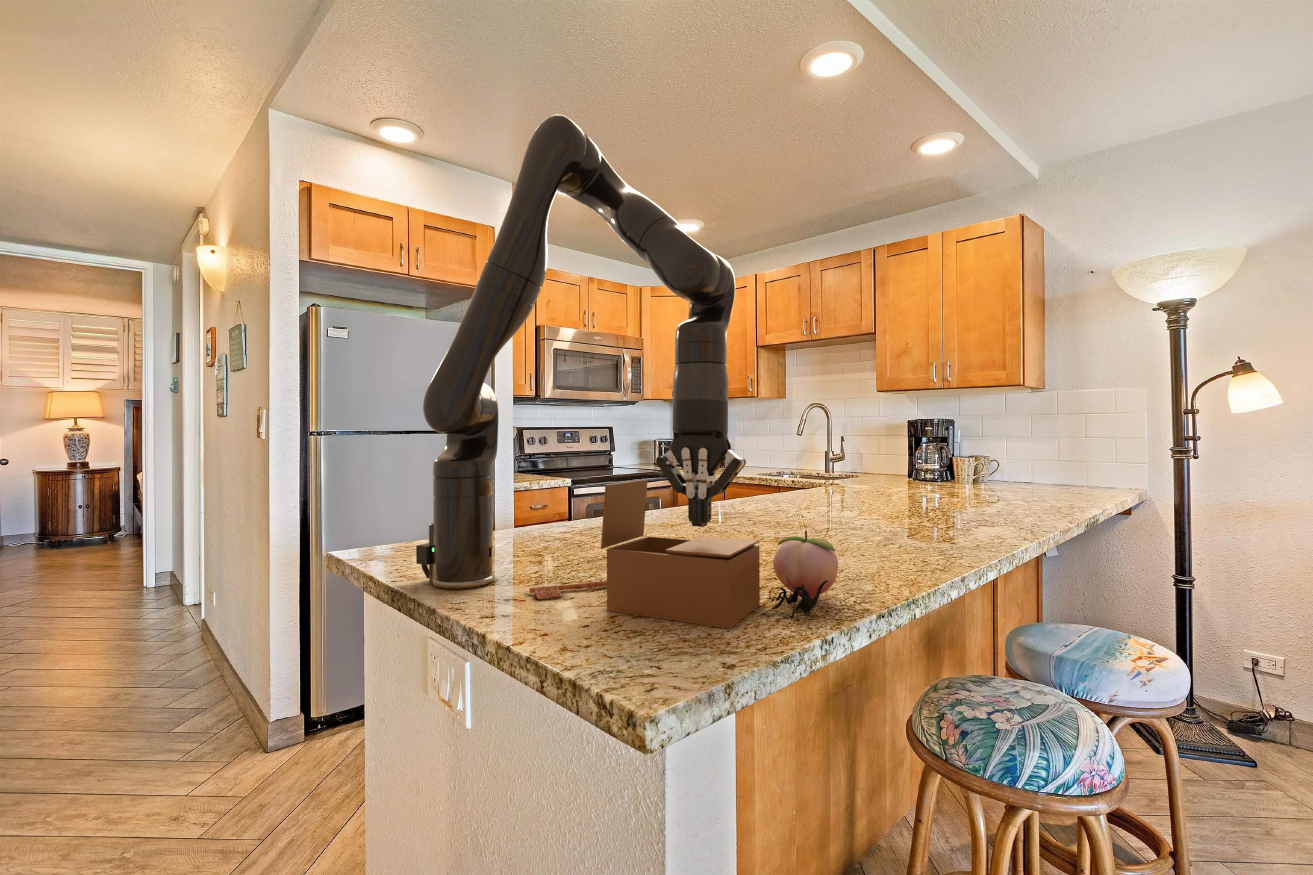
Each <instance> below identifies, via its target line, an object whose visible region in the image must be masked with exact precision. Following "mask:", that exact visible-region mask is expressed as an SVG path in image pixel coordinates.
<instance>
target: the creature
mask: <svg viewBox="0 0 1313 875" xmlns="http://www.w3.org/2000/svg"><path fill="white" fill-rule="evenodd" d="M786 578H787V577H786ZM787 580H788V578H787ZM789 582H790V581H789V580H788V584H789ZM826 582H828V581H824V582H823V583H822V584H821V585H820V586H819V587H818V590H817V594H816V596H815V597H813V598H810V596H809V593H808V591H807V590H806V589H805V586H804V585H803V584H801V586H802V587H801V586H798V587H793V586H792V585H791V586H792V588H793V589H795V591H794V593H793V592H791V591H790V590H789V591H788V590H786V588H785V587H782V586H781V587H780V590H781V591H780V592H779V594H778V596H777V597H776V596H774V597H773V598H772V599H771V602H770V604H772V603H773V602H774V603H777V604H776V605H774V606H773V607H772V608H770V609H768V610H766V611H765V612H764V615H769V614H771V613H769V612H770V611H773V610H776V609H779V608H781V606H782V605H783V603H784V602H786V604H788V605H792V604H796V603H797V602H798V600H799V596H798V593H799V594H800V596H801V597H802V598H801V597H800V598H801V599H800V601H799V602H798V604H797V606H796V607H795V608H794V609H793V611H792V613H791V615H790V614H787V613H786V614H785V612H781V614H782V615H783V616H788V617H789V618H790V619H794V616H795V614H796V611H799V610H800V611H802V612H803V614H804V616H806V615H807V614H808V615H811V610H812V609H813V608H815V607H816V605H817V603H818V600H819V598H820V596H821V594H820V593H821V589H822V587H823V585H824V584H825V583H826ZM790 584H791V583H790ZM789 588H790V587H789ZM800 591H802V593H803V594H802V593H801V592H800ZM787 593H788V594H789V596H787V595H788V594H787ZM774 600H775V601H774Z"/></svg>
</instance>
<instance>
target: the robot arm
mask: <svg viewBox="0 0 1313 875" xmlns="http://www.w3.org/2000/svg"><path fill="white" fill-rule="evenodd" d="M530 137H531V138H530V140H529V142H528V144H527V147H526V150H525V152H524V156H523V158H522V162H521V166H520V169H519V172H518V176H517V179H516V183H515V186H514V189H513V192H512V196H511V198H510V201H509V204H508V207H507V210H506V212H505V215H504V218H503V220H502V222H501V225H500V228H499V231H498V233H497V235H496V238H495V240H494V243H493V245H492V248H491V250H490V252H489V253H488V256H487V258H486V261H485V262H484V265H483V267H482V270H481V272H480V274H479V277H478V280H477V282H476V285H475V288H474V291H473V293H472V295H471V297H470V298H471V299H470V301H469V303H468V304H467V307H466V309H465V311H464V314H463V317H462V319H461V321H460V323H459V326H458V327H457V331H456V333H455V335H454V337H453V340H452V341H451V344H450V346H449V348H448V349H447V351H446V353H445V355H444V357H443V358H442V360H441V362H440V364H439V365H438V368H437V369H436V372H435V373H434V375H433V376H432V379H431V381H430V383H429V384H428V385H427V388H426V391H425V393H424V397H423V402H422V413H423V416H424V419H425V420H424V421H425V422H426V423H427V425H428V426H429V427H430V428H431V429H432V430H433V431H435V432H437V433H440V434H444V435H446V438H445V439H446V440H445V445H444V449H443V451H442V452H441V454H439V455H438V456H437V457H436V458H435V459H434V460H433V464H432V482H433V483H432V495H433V496H432V497H433V498H432V500H433V502H432V504H433V510H432V511H433V514H432V515H433V520H432V521H433V522H432V523H429V526H428V542H427V543H421V544H417V545H415V559H416V560H415V564H416V565H420V566H421V570H422V572H423V574H424V575H425V577H426V579H428V581H429V584H432V585H433V586H434V587H437V588H440V589H449V590H458V589H459V590H460V589H472V588H478V587H483V586H485V585H489V584H491V583H492V582H494V580H495V579H494V578H495V577H494V576H495V574H494V556H495V554H496V545H495V544H494V495H493V492H494V491H493V489H494V487H493V486H494V484H493V479H494V478H493V470H494V469H493V468H494V464H495V462H496V458H497V456H498V446H499V445H498V441H499V416H500V415H499V404H498V398H497V396H496V394H495V391H494V390H493V389H492V387H491V386H490V385H489V384H488V383H487V382H485V380H486V378H487V375H488V373H489V370H490V368H491V366H492V364H493V362H494V360H495V359H496V357H497V355H498V354H499V353H500V351H501V350H502V349H503V348H504V347H505V346H506V344H507V343H508V342H509V341H510V340H511V339H512V338H513V337H514V336H515V334H516V333H517V332H518V331H519V330H520V329H521V328H522V326H523V325H524V324H525V322H526V321H527V320H528V318H529V317H530V315H531V313H532V311H533V309H534V307H535V305H536V302H537V300H538V297H539V296H540V293H541V291H542V288H543V285H544V283H545V280H546V276H547V268H548V223H549V222H548V221H549V216H550V211H551V208H552V206H553V205H552V204H553V202H554V200H555V198H556V194H557V192H559V193H561V194H563V195H566V196H567V197H569V198H571V199H573V200H574V201H577V202H579V203H580V204H582V205H583V206H585V207H587V208H589V209H590V210H592V211H593V212H595V213H596V214H597V215H598V216H600V217H601V218H602V219H603V220H604V221H605V222H606V223H607V224H608V225H609V227H610V229H612V231H613V232H614V233H615V234H616V235H617V236H618V238H620V240H621V241H622V242H623V243H624V244H625V245H626V246H627V247H628V248H630V250H632V251H633V252H634V253H635V254H636V256H638V257H639V258H640V259H641V260H643V262H645V263H646V264H648V265H649V267H650V268H651V270H652V271H653V272H654V274H655V275H656V276H657V277H658V279H659V280H660V281H661V282H662V284H663V285H664V286H665V287H666V289H669V290H670V291H671V292H672V293H673V294H675V295H676V296H677V297H679V298H681V299H682V300H685V301H688V302H689V311H688V316H687V320H685V321H683V322H681V323H679V324H678V326H677V327H676V330H675V336H674V372H673V379H672V391H671V397H672V434H673V435H672V436H673V437H672V440H671V442H670V444H669V450H667V451H666V452H665V453H664V454H663V455H660V456H657V457H656V459H655V463H656V465H657V466H658V467H659V469H660V471H661V472H662V473H663V475H664V477H665V479H667V481H668V483H669V484H670V486H671V488H673V490H674V492H675V493H676V494H682V495H684V496H685V497H686V498H687V518H688V522H691V526H692V527H696V528H697V527H698V528H704V527H707V526H708V524H709V523H710V522H711V520H712V502H713V498H714V497H716V496H719V495H722V494H724V493H725V492H726V491H727V490H728V488H729V487H730V485H731V484H732V483H733V481H734V480H735V479H736V478H737V476H738V475H739V474H740V473H741V472H742V470H743V468H744V467H745V466H746V465H747V460H746V459H745V457H740V456H738V454H736V453H734V451H732V444H731V443H730V441H729V438H728V432H729V377H728V368H727V362H728V361H727V352H728V351H727V350H728V349H727V348H728V346H727V344H728V343H727V333H728V329H729V325H730V322H731V317H732V312H733V307H734V304H735V303H734V302H735V296H736V280H735V279H736V278H735V275H734V270H733V268H732V265H731V264H730V263H729V262H728V261H727V260H726V259H724V258H723V257H722V256H720V255H717V254H715V253H713V252H712V251H710V250H708V249H707V248H705V247H704V246H702V244H700V243H698V242H697V241H695V240H694V239H693V238H691V237H690V236H689V235H688V234H687V233H686V231H685V229H684V227H682V226H681V224H680V223H679V221H677V220H676V219H674V218H673V217H672V216H671V215H670V214H669V213H668V212H667V211H666V210H664V209H663V208H662V207H660V206H659V205H658V204H656V203H655V202H654V201H653V200H651V199H650V198H648V197H647V196H646V195H644V194H643V193H641V192H639V191H637V190H635V189H634V188H632V187H631V186H630V185H629V184H627V183H626V182H625V181H624V180H623V179H622V178H621V177H620V176H619V175H618V174H617V172H616V171H615V170H614V168H613V167H612V166H611V164H610V163H609V162H608V161H607V159H606V158H605V157H604V155H603V154H602V153H601V151H600V149H599V147H598V146H597V144H595V142H594V141H593V140H592V139H591V138H590V137H589V136H588V135H587V134H586V133H585V132H584V131H583V130H582V129H581V128H580V126H578V125H577V124H576V123H575V122H574V121H573V120H572V119H570V118H569V117H567V116H565V115H563V114H553V115H550V116H548V117H547V118H545V119H544V120H542V122H541V123H539V125H538V126H537V128H536V129H535V130H534V132H533V134H532V135H531V136H530ZM678 464H679V466H680V468H681V469H682V470H683V471H682V472H681V471H680V469H679V468H678V467H677V465H678ZM722 464H724V470H723V471H722V472H721V474H720V475H719V476H718V478H717V479H716V476H717V471H718V469H719V468H720V467H721V465H722ZM682 473H683V474H682Z"/></svg>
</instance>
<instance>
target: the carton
mask: <svg viewBox="0 0 1313 875" xmlns="http://www.w3.org/2000/svg"><path fill="white" fill-rule="evenodd" d="M648 480H649V479H647V478H646V479H645V478H643V479H638V480H630V481H623V482H616V483H609V484H605V485H604V499H603V512H602V526H601V539H600V540H601V541H600V549H605V548H606V580H607V586H606V611H608V612H614V613H622V614H628V615H635V616H642V617H648V618H655V619H661V620H668V621H674V622H681V623H688V624H694V625H695V624H696V625H702V626H709V627H714V628H715V627H716V628H721V629H728V630H730V629H732V628H733V627H734V626H735V625H737V624H738V623H740V622H741V621H742V620H743V619H745V617H747V616H748V615H749V614H751V613H752V612H753V611H754V610H755V609H757V608H758V607H759V606H760V604H761V603H760V601H761V600H760V599H761V597H760V594H761V591H760V588H761V587H760V585H761V584H760V582H761V581H760V577H761V576H760V573H761V572H760V545H759V544H755V545H753V546H751V547H749V548H747V549H745V550H743V551H741V552H739V553H737V554H735V555H733V556H731V557H719V556H707V555H696V554H684V553H673V552H666V549H669V548H672V547H674V546H677V545H680V544H682V543H685V542H688V541H690V540H691V539H687V538H686V539H685V538H674V537H665V536H664V537H662V536H650V535H648V536H647V535H646V536H644V534H645V521H646V520H645V519H646V508H647V507H646V506H647V495H648V494H647V493H648Z"/></svg>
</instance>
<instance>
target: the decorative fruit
mask: <svg viewBox="0 0 1313 875" xmlns="http://www.w3.org/2000/svg"><path fill="white" fill-rule="evenodd" d="M777 546H779V547H777V550H776V552H775V553H774V557H773V562H772V565H773V572H774V573H775V576H776V577H777V579H778V581H779V582H780V583H781V584H782V585H783V586H784V588H785V589H787V590H789V592H790V591H791V593H792V594H793V593H794V591H795V589H793V588H792V586H793V587H798V586H801V584H803V585H804V586H805V589H806V590H807V591H808V593H809V596H810V598H811V599H812V598H814V597H815V596H816V594H817V590H818V587H819V586H820V585H821V584H822V583H823V582H824V581H828V582H826V583H825V584H824V585H823V587H822V589H821V593H820V595H822V594H824V593H825V592H827V591H828V590H829V589H831V587H832V586H833V585H834V584H835V581H836V579H837V576H838V573H839V572H838V570H839V560H838V559H839V558H838V556H837V554H836V550H835V547H834V545H833V544H832V543H831V542H829V540H827V539H825V538H821V537H812V538H808V531H807V530H804V537H802V536H798V535H794V536H793V535H792V536H787V537H782V538H781V539H780V540H779V541H778V543H777ZM786 577H787V578H788V580H789V581H790V582H789V584H788V580H787V578H786ZM790 583H791V584H790ZM791 585H792V586H791ZM789 587H790V588H789ZM801 587H802V586H801ZM800 592H801V593H802V591H800ZM802 594H803V593H802ZM798 598H801V599H802V597H801V596H800V594H799V593H798Z"/></svg>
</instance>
